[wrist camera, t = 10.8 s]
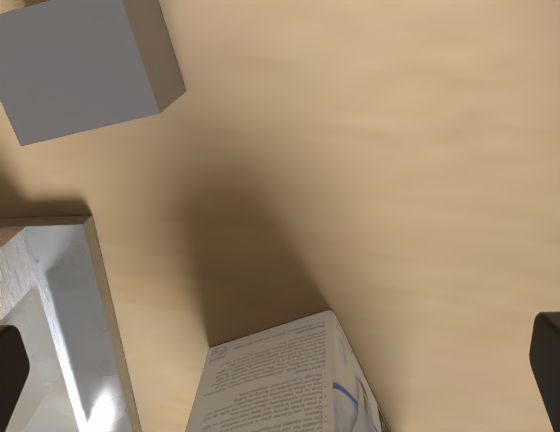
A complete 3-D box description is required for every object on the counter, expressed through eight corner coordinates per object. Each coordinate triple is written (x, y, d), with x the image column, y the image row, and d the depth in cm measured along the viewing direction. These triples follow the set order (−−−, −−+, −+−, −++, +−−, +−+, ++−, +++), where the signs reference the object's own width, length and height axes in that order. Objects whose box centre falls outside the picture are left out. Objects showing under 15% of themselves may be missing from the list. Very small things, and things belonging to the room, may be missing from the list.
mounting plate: (92, 214, 23) (45, 264, 19) (145, 450, 28) (118, 526, 24) (-122, 223, 24) (-212, 271, 20) (-29, 450, 29) (-83, 524, 25)
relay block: (152, -20, 19) (115, -22, 15) (186, 90, 21) (160, 113, 17) (29, 14, 20) (-36, 21, 16) (70, 118, 21) (21, 146, 18)
